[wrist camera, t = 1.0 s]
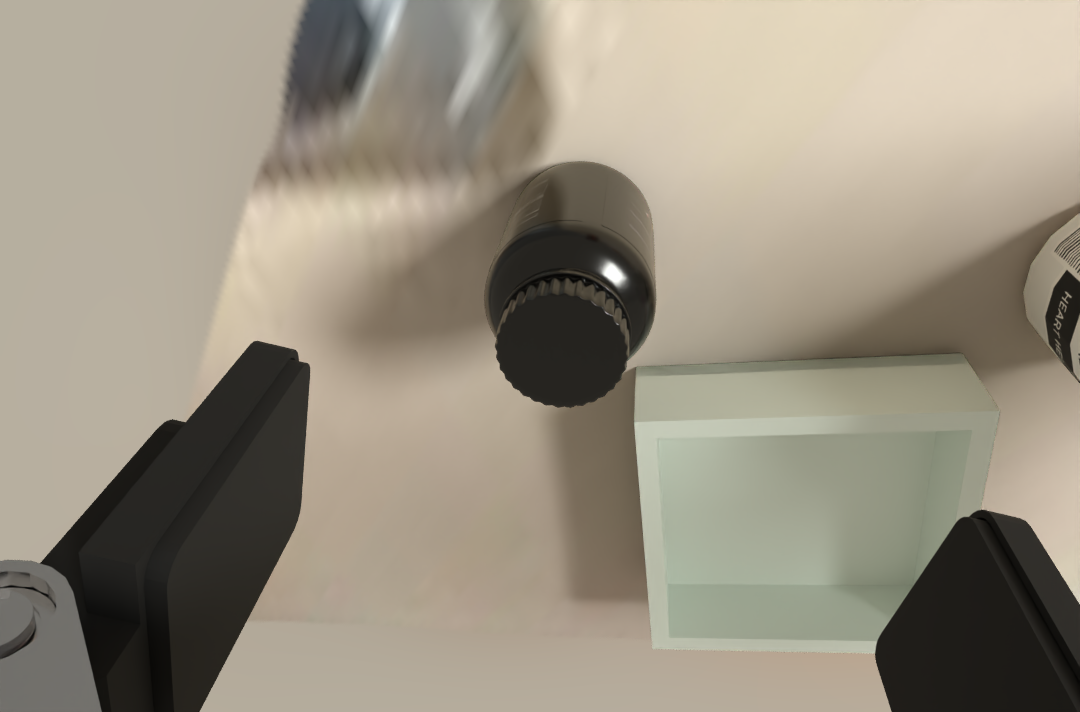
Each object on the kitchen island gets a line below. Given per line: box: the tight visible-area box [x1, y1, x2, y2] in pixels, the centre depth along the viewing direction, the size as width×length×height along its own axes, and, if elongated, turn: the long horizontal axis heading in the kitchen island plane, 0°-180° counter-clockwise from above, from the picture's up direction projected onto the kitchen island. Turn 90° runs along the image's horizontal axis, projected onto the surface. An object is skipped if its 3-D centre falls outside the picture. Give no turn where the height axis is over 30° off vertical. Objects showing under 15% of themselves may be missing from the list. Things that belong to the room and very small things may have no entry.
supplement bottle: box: [484, 161, 656, 408], centre depth 33 cm, size 7×7×12 cm
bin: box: [634, 353, 1000, 653], centre depth 42 cm, size 16×16×5 cm
